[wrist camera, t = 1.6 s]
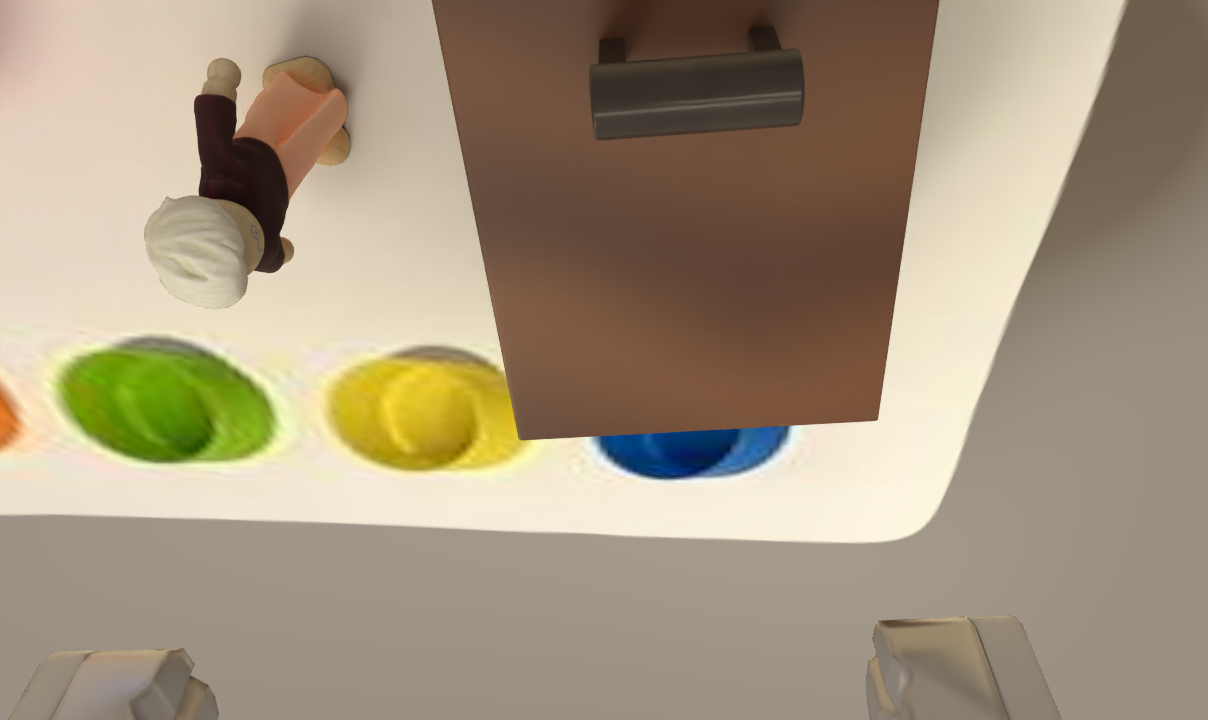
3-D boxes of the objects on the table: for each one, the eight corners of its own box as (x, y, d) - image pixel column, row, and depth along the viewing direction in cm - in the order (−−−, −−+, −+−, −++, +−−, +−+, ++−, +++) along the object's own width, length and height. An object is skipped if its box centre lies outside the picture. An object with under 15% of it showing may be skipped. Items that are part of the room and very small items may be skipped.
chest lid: (431, -28, 24) (397, 40, 20) (940, -72, 23) (1005, -9, 20) (520, 426, 35) (509, 528, 31) (873, 406, 34) (906, 508, 30)
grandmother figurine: (387, 174, 38) (309, 370, 28) (302, 193, 39) (196, 391, 29) (308, -11, 33) (180, 147, 23) (213, 13, 34) (49, 178, 24)
